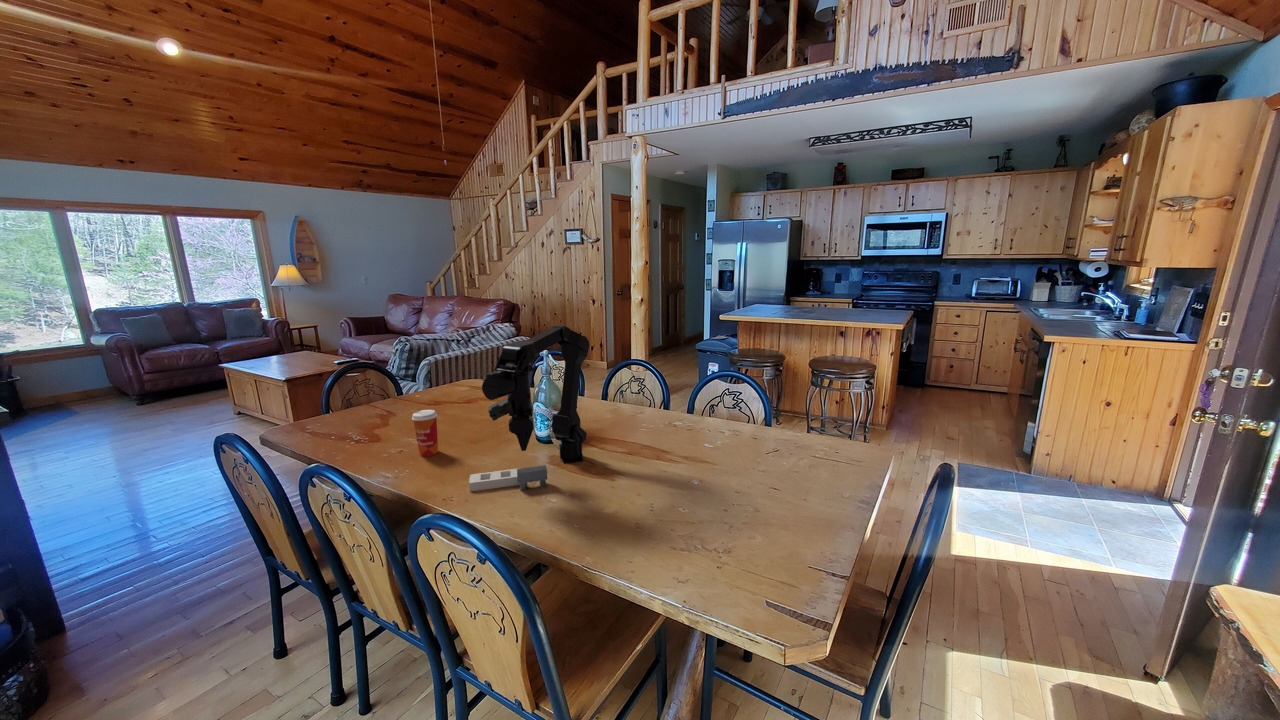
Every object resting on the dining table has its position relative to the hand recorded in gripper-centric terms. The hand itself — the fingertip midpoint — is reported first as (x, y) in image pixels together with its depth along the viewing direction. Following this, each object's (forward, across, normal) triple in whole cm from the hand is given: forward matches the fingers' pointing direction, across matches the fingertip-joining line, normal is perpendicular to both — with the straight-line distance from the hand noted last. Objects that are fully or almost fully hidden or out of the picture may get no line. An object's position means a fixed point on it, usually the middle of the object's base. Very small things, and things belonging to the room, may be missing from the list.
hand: (523, 444), depth 135 cm
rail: (+12, -3, -8) cm, 15 cm away
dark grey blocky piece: (+12, +2, +2) cm, 12 cm away
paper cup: (+12, -32, -32) cm, 47 cm away
